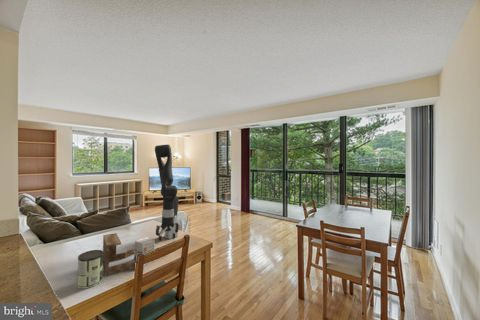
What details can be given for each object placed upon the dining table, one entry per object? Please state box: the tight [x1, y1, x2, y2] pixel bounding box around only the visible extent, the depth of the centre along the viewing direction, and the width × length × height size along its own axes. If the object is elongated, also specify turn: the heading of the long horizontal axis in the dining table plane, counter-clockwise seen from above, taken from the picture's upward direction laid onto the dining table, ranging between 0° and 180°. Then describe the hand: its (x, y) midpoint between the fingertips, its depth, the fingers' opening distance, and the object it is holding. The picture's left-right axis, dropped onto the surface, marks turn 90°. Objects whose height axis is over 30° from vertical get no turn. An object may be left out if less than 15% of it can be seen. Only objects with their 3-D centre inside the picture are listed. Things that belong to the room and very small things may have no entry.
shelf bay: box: [102, 232, 137, 276], centre depth 123 cm, size 18×24×16 cm
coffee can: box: [77, 249, 104, 289], centre depth 104 cm, size 10×10×14 cm
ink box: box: [133, 236, 156, 261], centre depth 130 cm, size 9×8×12 cm
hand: (166, 240), depth 139 cm, fingers open, 8 cm apart
